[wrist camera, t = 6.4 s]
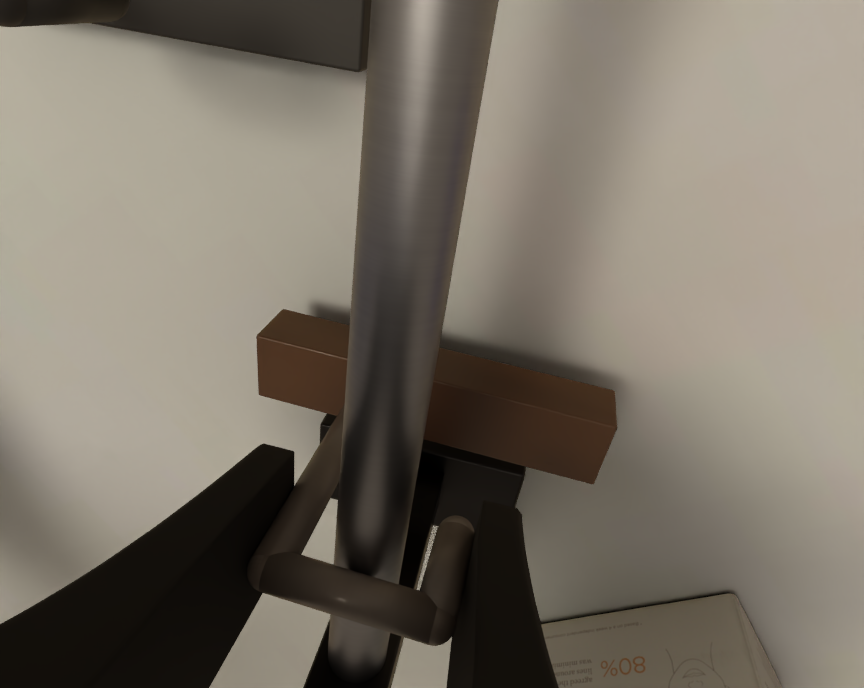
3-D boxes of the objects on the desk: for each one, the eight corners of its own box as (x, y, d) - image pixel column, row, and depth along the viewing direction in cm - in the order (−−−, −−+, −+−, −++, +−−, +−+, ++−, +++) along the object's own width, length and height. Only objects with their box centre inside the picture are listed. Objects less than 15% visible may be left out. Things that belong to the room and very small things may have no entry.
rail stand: (328, 473, 19) (203, 717, 12) (373, -427, 8) (-213, -1700, 2) (506, 519, 18) (472, 801, 12) (789, -389, 8) (1704, -2007, 2)
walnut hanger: (283, 365, 15) (110, 571, 10) (282, 308, 14) (89, 501, 9) (593, 445, 14) (596, 728, 9) (615, 390, 13) (634, 666, 8)
